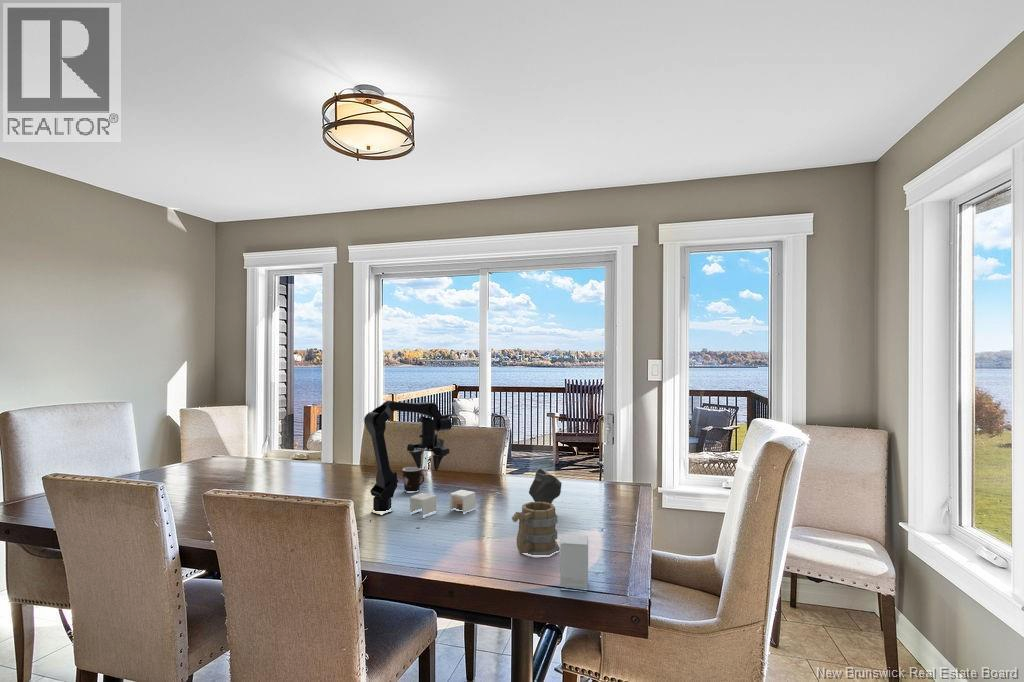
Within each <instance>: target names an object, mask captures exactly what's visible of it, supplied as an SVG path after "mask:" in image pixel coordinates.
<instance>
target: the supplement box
mask: <svg viewBox="0 0 1024 682" xmlns="http://www.w3.org/2000/svg"><path fill="white" fill-rule="evenodd" d="M559 548H560V552H559V553H560V561H559V563H560V564H559V565H560V566H559V567H560V570H559V574H560V577H559V579H560V580H559V583H560V584H559V585H560V586H559V588H560V587H566V588H575V589H587V590H588V586H589V583H588V580H589V536H588V535H585V534H584V535H582V534H566V533H565V534H564V533H563V534H562V535H561V539H560V546H559Z"/></svg>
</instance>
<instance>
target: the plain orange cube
mask: <svg viewBox="0 0 1024 682" xmlns="http://www.w3.org/2000/svg"><path fill="white" fill-rule="evenodd" d="M456 509H459V510H463V499H460V500H457V501H456Z"/></svg>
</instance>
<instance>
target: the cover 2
mask: <svg viewBox="0 0 1024 682" xmlns="http://www.w3.org/2000/svg"><path fill="white" fill-rule="evenodd" d="M460 499H463V512H466V511H469V510H471V509H473V508H475V509H476V492H475V491H470V490H465V489H459V490H456V491H454V492H451V493H449V510H450V509H453V508H456V501H457V500H460Z"/></svg>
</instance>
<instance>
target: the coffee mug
mask: <svg viewBox="0 0 1024 682" xmlns="http://www.w3.org/2000/svg"><path fill="white" fill-rule="evenodd" d="M422 471H423V469H422V467H420V468H418V467H417V466H407V467H403V468H402V479H403V487H404V491H405V490H406V491H417V490H419V491H420V487H421V485H422V484H423V483H424V482H425V476H424V475H423V473H422ZM421 479H422V481H421Z"/></svg>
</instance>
